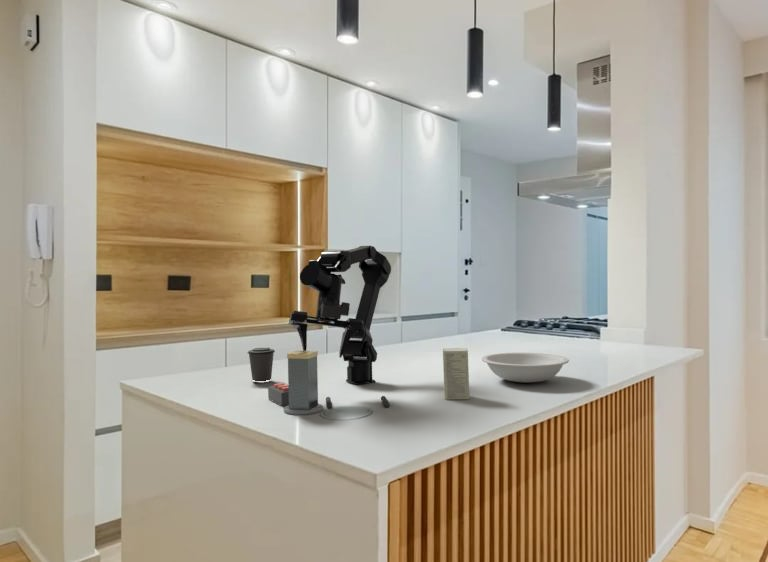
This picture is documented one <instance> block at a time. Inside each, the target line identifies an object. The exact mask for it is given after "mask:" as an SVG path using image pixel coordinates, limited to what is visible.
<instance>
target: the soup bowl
mask: <svg viewBox="0 0 768 562" xmlns="http://www.w3.org/2000/svg"><path fill="white" fill-rule="evenodd" d="M481 361H482V362H484V363H486V364H487V366H488V368H489V369H490V371H491V372H492V373H493V374H494V375H496V376H497V377H499V378H501V379H503V380H506V381H510V382H515V383H528V384H529V383H540V382H544V381H548V380H550V379H552V378H554V377H555V376H556V375H557V374H558V373H559V372H560V371H561V370H562V368H563V365H566V364H568V363H569V358H567V357H564V356H561V355H558V354H557V355H556V354H550V353H543V352H542V353H541V352H540V353H539V352H502V353H501V352H500V353H491V354H487V355H484V356H482V357H481Z"/></svg>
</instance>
